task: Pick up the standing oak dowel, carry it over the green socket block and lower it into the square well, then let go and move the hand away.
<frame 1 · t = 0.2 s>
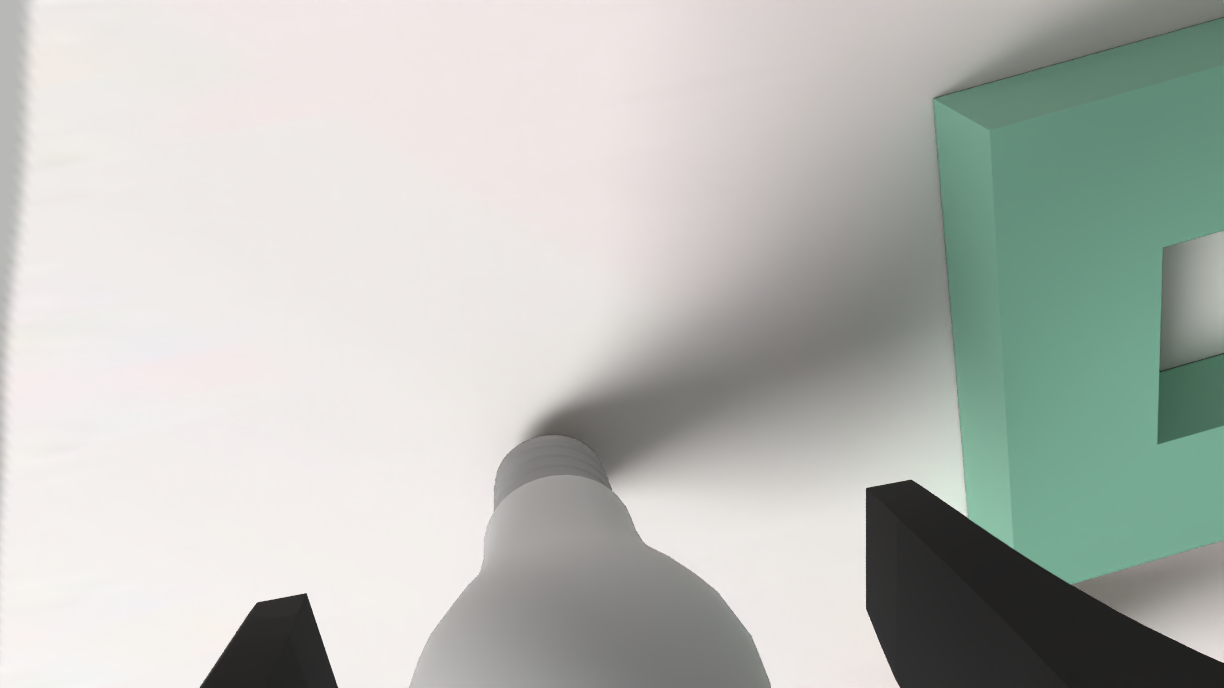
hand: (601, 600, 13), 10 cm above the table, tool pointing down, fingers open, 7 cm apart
lightbulb: (546, 457, 24), on the table
socket block: (1194, 274, 24), on the table
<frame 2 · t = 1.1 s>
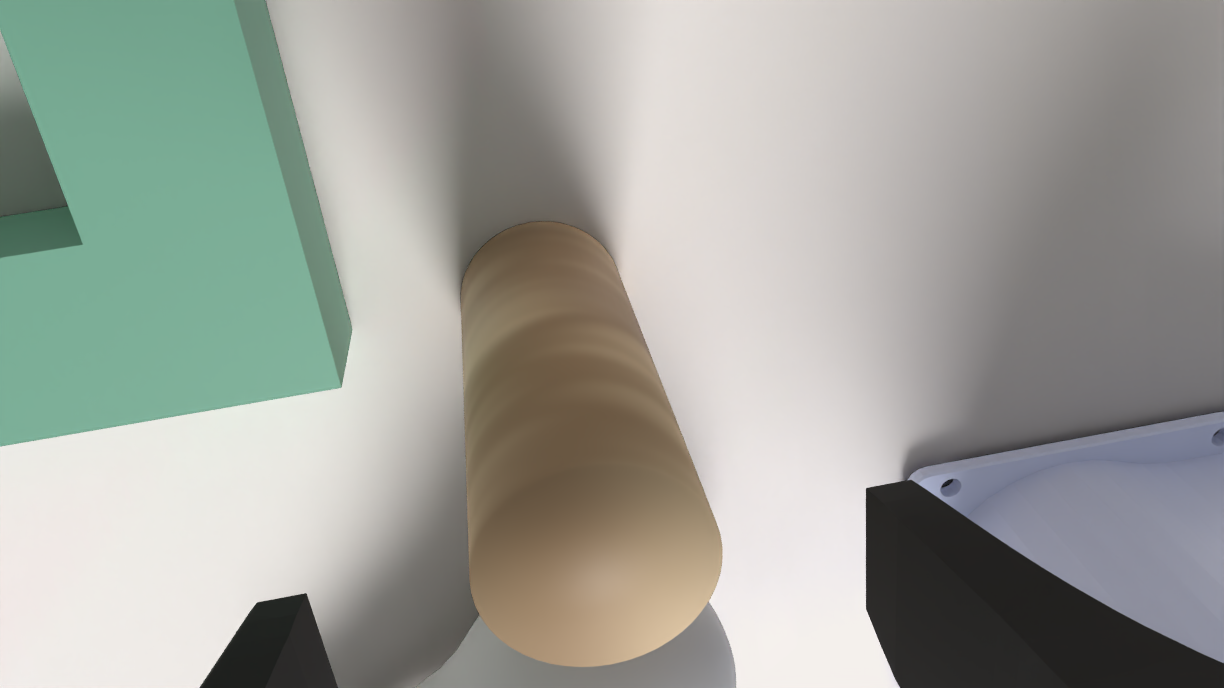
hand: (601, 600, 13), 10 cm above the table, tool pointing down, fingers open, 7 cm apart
dowel: (541, 297, 22), on the table
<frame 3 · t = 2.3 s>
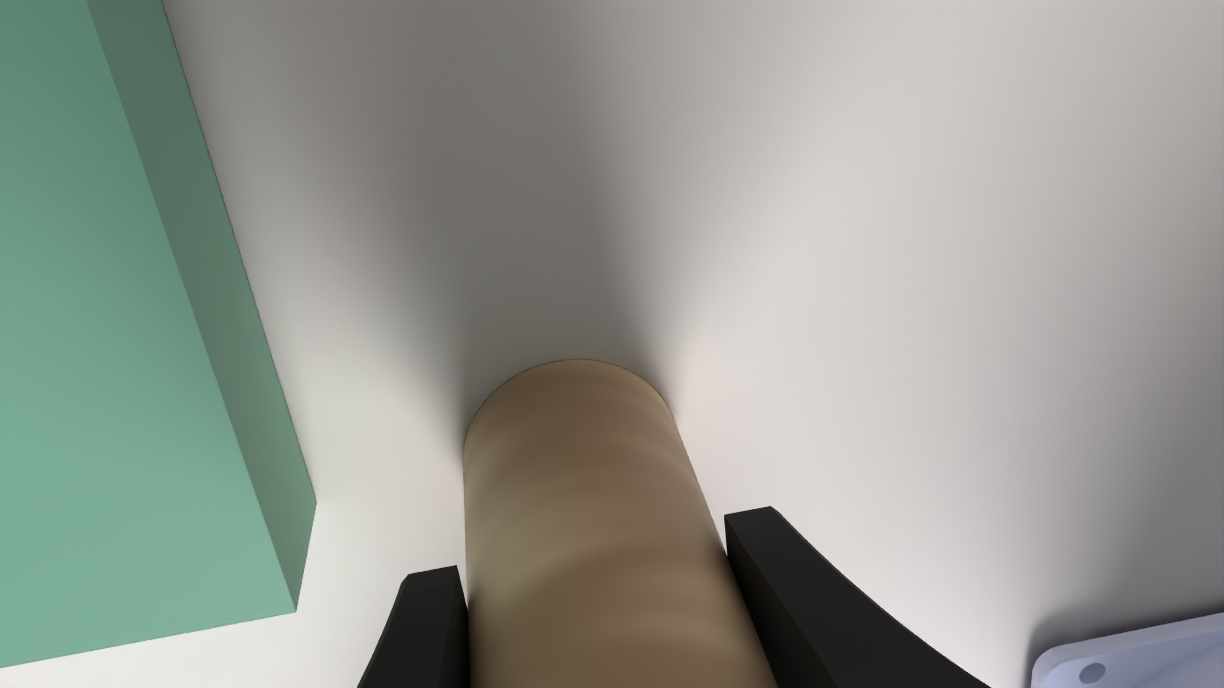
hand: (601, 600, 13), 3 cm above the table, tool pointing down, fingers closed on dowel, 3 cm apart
dowel: (571, 455, 16), on the table, touching gripper
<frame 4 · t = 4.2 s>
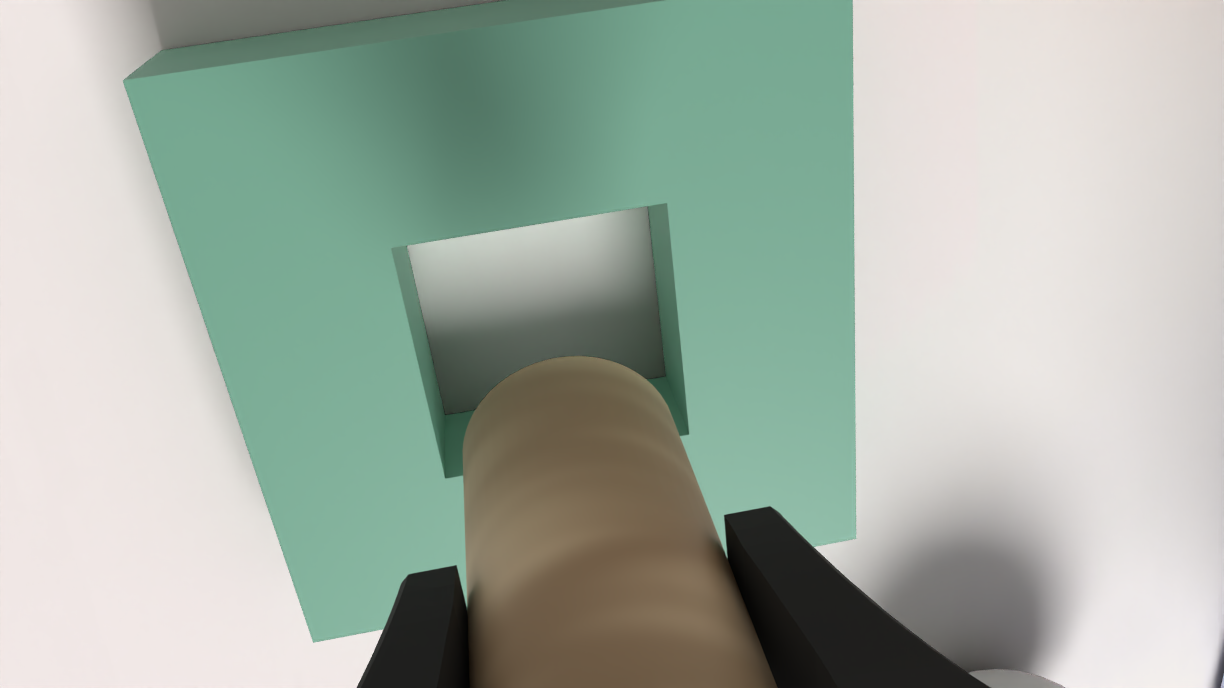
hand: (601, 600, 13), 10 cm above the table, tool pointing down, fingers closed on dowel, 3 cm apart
dowel: (570, 451, 16), point 6 cm above the table, touching gripper
socket block: (539, 294, 22), on the table
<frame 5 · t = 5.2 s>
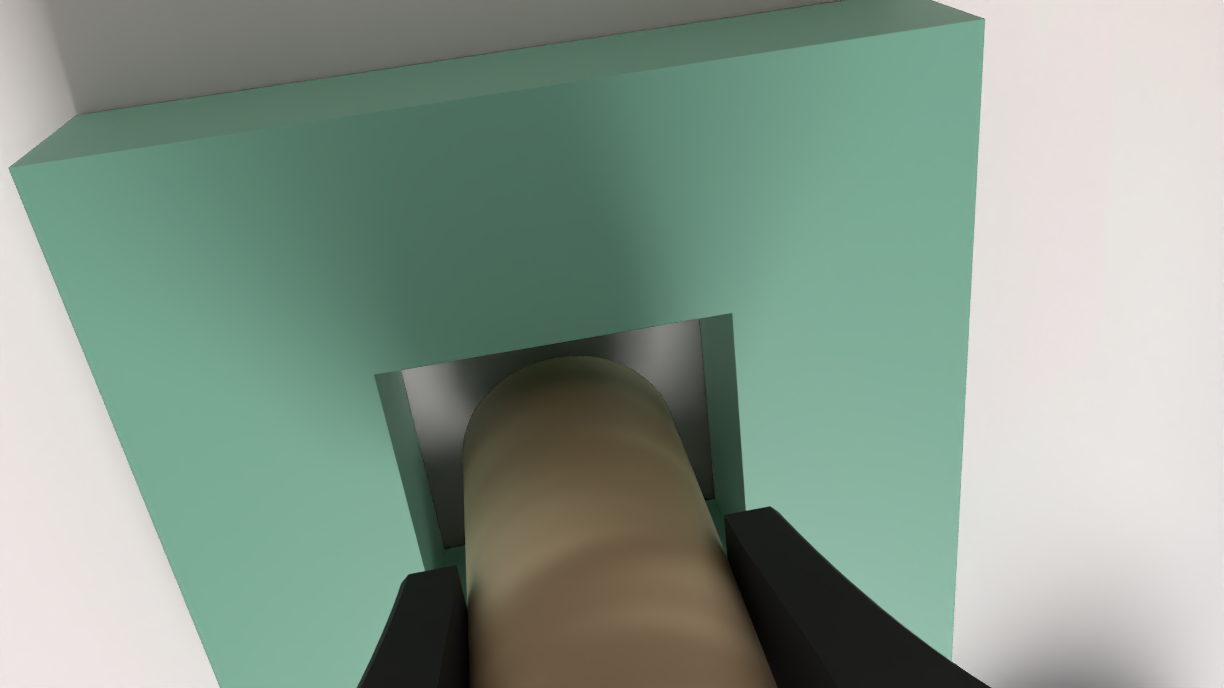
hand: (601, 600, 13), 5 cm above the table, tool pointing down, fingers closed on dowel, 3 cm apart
dowel: (570, 450, 16), point 1 cm above the table, touching gripper
socket block: (562, 406, 17), on the table
when the fingers open (5 cm above the table, at t = 5.9 s): dowel drops 1 cm, resting in socket block.
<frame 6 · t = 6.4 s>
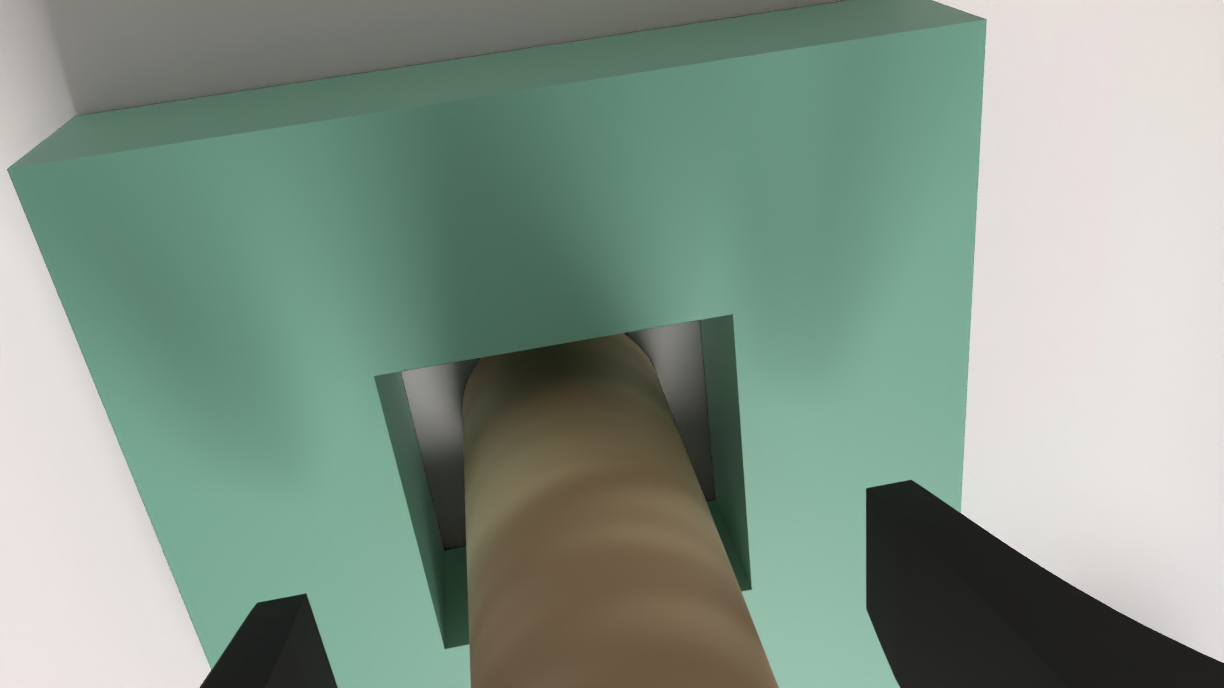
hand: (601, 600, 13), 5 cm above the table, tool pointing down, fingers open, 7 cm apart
dowel: (562, 407, 17), resting in socket block
socket block: (562, 408, 17), on the table
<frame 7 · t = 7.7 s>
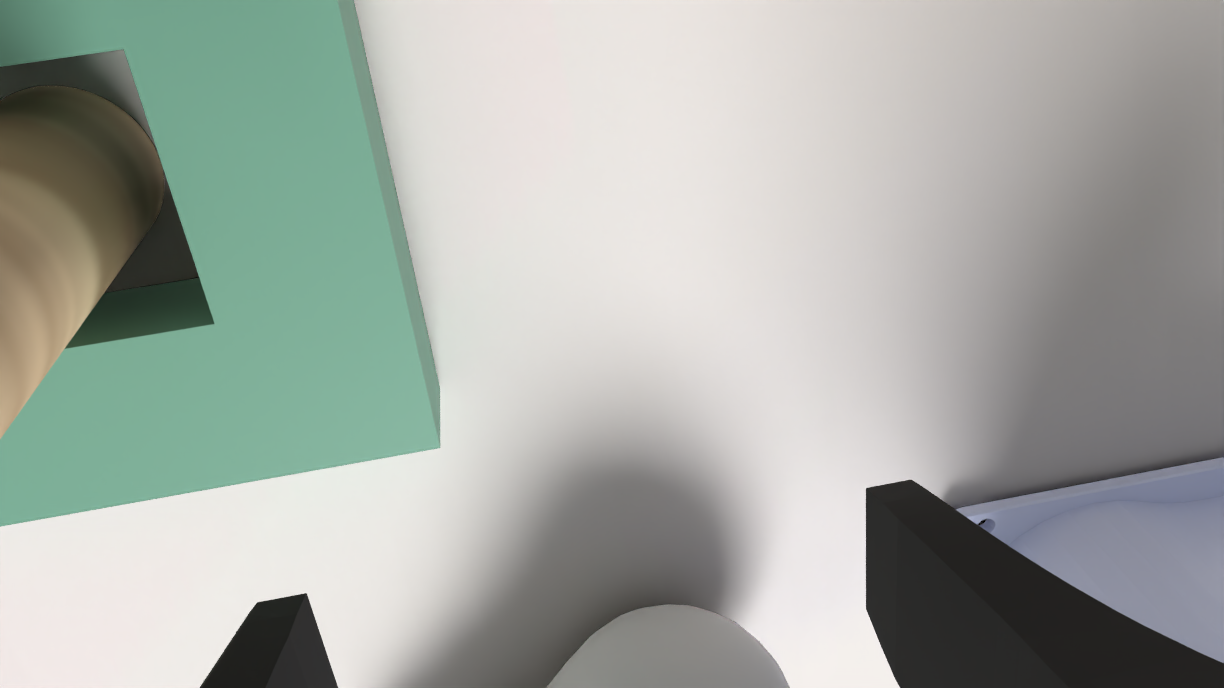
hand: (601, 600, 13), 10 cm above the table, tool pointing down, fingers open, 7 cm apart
dowel: (70, 174, 20), resting in socket block
socket block: (69, 174, 20), on the table
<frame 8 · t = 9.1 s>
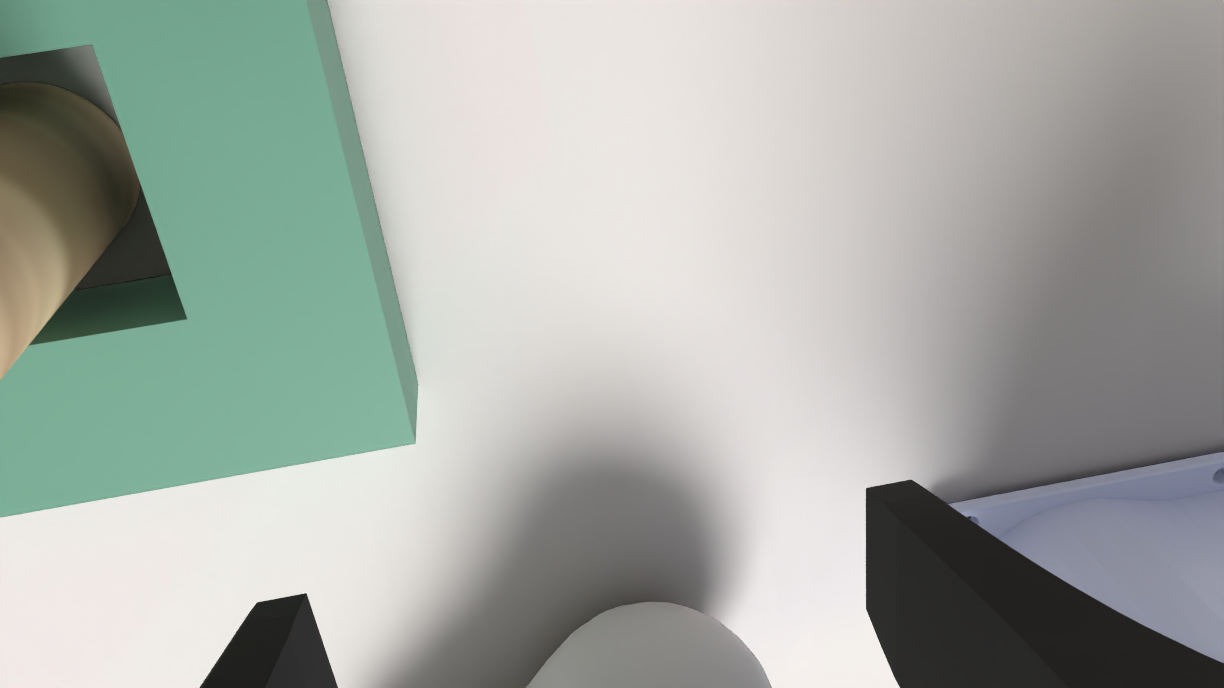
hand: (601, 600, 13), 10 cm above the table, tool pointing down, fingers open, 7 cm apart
dowel: (45, 170, 20), resting in socket block
socket block: (44, 170, 20), on the table
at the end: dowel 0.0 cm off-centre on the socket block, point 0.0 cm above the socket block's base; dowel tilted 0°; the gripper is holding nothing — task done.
